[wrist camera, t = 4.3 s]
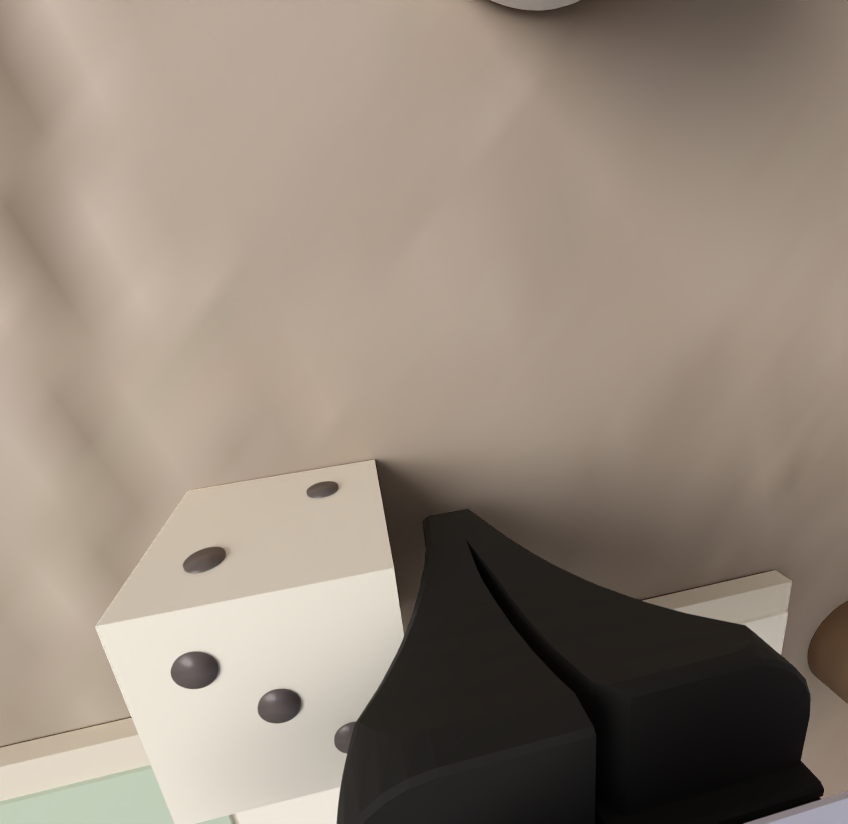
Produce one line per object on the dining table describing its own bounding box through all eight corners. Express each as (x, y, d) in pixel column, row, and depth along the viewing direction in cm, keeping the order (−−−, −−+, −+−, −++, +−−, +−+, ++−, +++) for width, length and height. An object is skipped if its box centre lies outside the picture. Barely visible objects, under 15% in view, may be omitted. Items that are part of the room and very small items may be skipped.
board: (748, 744, 18) (764, 763, 17) (70, 938, 15) (58, 971, 14) (776, 570, 16) (795, 583, 15) (-34, 755, 12) (-55, 783, 11)
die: (398, 605, 13) (426, 768, 9) (231, 639, 13) (175, 831, 8) (376, 457, 12) (397, 566, 7) (186, 488, 11) (92, 626, 7)
